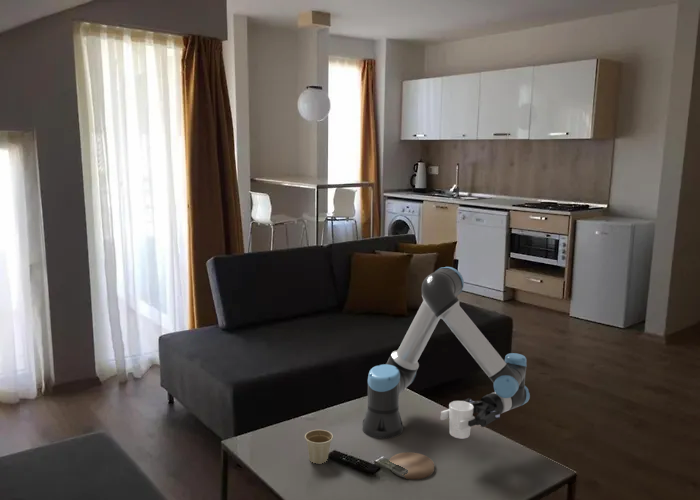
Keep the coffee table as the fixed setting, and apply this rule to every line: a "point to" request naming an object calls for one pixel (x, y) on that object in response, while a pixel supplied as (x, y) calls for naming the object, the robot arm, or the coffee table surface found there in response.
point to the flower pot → (318, 445)
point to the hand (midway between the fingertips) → (450, 420)
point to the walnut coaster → (414, 464)
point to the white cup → (459, 418)
